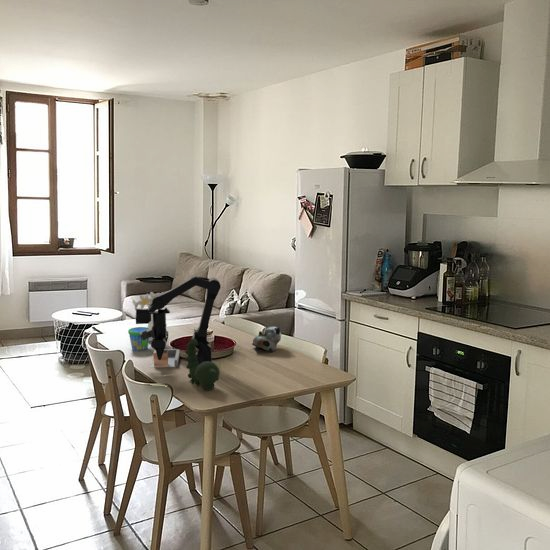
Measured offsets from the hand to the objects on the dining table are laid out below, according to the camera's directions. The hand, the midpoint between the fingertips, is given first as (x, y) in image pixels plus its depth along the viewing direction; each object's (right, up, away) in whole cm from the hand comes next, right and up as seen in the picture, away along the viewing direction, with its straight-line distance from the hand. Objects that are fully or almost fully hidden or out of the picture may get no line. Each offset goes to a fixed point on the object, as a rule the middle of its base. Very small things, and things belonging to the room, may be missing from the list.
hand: (160, 356), depth 277 cm
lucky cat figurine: (+47, 0, +27) cm, 54 cm away
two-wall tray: (+1, -3, +6) cm, 7 cm away
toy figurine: (+22, -8, -24) cm, 34 cm away
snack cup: (-15, 0, +26) cm, 30 cm away
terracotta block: (0, -4, +1) cm, 4 cm away
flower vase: (-13, +3, +44) cm, 46 cm away
